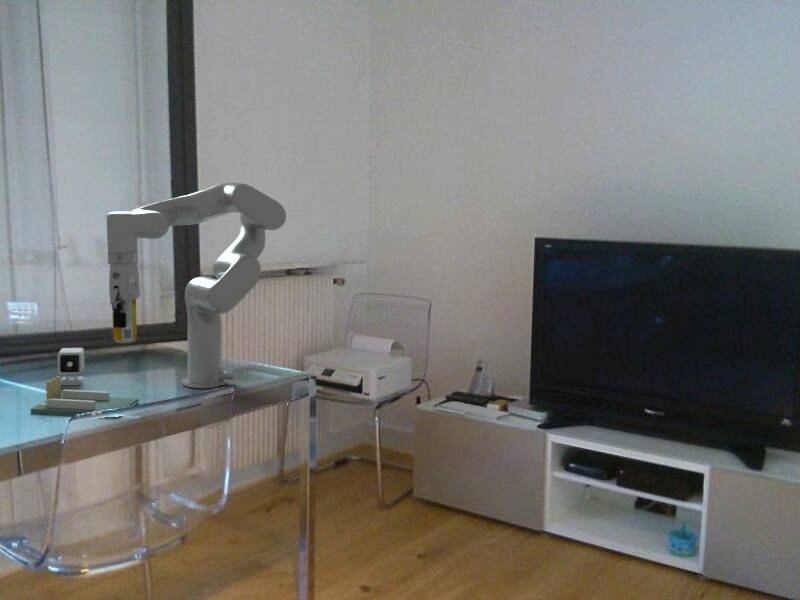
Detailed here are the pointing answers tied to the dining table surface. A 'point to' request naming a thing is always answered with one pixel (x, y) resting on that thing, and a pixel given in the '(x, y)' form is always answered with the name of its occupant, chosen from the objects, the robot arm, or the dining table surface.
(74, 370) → the security camera
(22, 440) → the dining table surface
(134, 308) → the beer can
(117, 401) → the board
